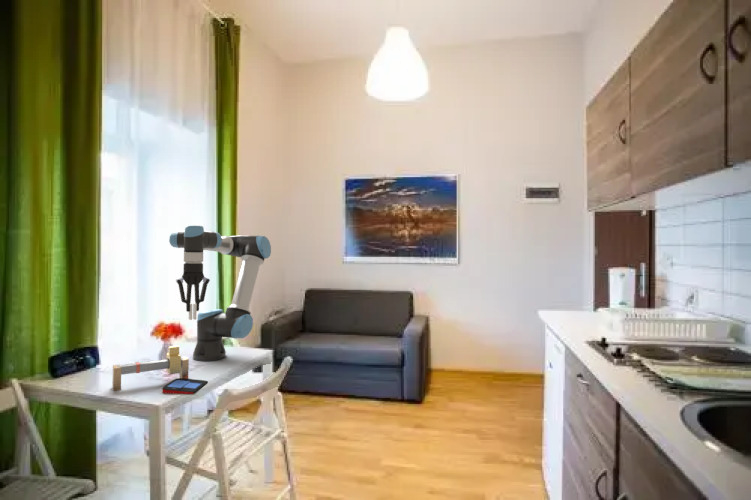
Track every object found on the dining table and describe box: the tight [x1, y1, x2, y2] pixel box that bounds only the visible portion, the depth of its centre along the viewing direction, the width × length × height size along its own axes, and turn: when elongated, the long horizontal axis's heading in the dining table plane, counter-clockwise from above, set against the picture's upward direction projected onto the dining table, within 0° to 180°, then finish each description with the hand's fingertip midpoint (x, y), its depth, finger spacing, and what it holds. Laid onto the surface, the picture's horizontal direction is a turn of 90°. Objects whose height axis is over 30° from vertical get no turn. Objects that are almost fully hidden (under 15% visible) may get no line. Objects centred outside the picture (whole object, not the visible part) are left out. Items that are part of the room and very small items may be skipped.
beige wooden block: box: [166, 345, 182, 375], centre depth 179 cm, size 4×7×10 cm, turn 35°
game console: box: [161, 378, 209, 395], centre depth 170 cm, size 14×13×2 cm
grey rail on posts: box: [111, 356, 190, 392], centre depth 174 cm, size 26×5×9 cm, turn 125°
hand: (192, 319), depth 183 cm, fingers closed
